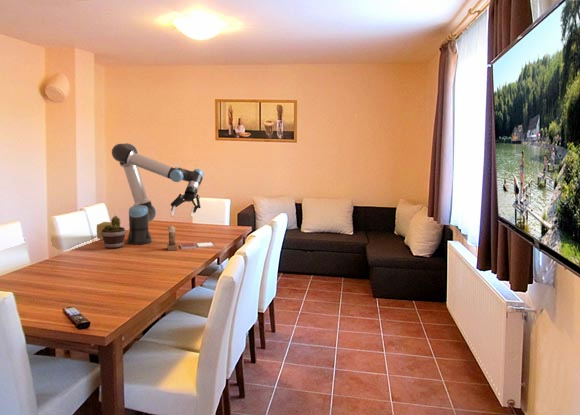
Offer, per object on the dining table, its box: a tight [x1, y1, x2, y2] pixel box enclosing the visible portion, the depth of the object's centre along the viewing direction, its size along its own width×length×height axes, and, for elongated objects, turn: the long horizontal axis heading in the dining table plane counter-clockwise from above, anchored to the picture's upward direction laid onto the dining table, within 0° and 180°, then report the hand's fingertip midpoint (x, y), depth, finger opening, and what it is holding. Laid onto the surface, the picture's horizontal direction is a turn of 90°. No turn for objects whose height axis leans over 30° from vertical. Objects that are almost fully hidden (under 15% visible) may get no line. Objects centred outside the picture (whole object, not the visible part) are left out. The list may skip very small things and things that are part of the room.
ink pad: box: [179, 242, 197, 250], centre depth 278 cm, size 9×9×2 cm
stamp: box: [166, 225, 178, 252], centre depth 270 cm, size 7×5×15 cm
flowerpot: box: [100, 214, 127, 250], centre depth 272 cm, size 14×15×20 cm
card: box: [194, 241, 216, 248], centre depth 283 cm, size 11×11×1 cm
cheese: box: [96, 221, 113, 240], centre depth 299 cm, size 10×11×10 cm
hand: (181, 215), depth 278 cm, fingers open, 13 cm apart
